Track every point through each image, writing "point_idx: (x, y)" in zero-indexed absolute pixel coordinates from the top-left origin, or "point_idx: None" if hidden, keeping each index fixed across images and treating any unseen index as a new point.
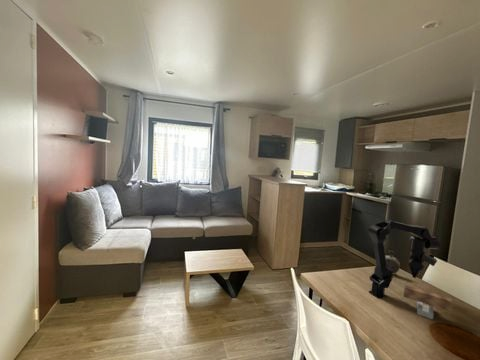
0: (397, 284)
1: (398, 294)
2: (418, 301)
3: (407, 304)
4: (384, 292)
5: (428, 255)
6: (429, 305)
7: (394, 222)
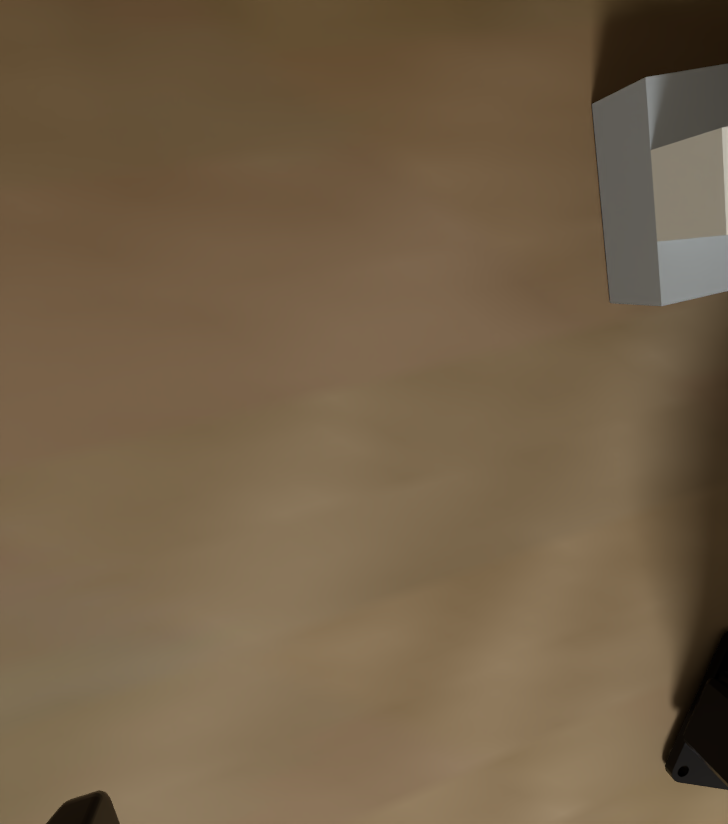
0: (134, 719)
1: (517, 569)
2: (705, 284)
3: (717, 394)
4: (723, 688)
5: None
6: (707, 118)
7: None
